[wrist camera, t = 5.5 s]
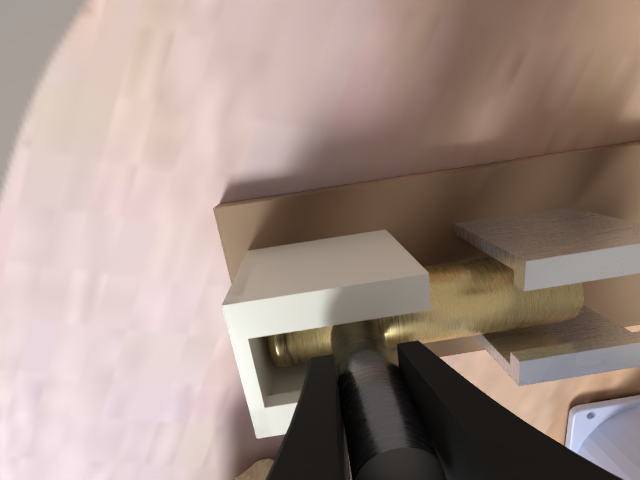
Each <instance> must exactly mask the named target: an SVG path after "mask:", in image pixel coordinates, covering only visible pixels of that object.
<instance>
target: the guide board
mask: <svg viewBox="0 0 640 480" xmlns="http://www.w3.org/2000/svg"><path fill="white" fill-rule="evenodd" d="M213 210H214V214H215V218H216V222H217V226H218V230H219V234H220V238H221V243H222V247H223V251H224V255H225V259H226V263H227V267H228V271H229V275H230V279H231V283H233V281H234V278H235V276H236V274H237V272H238V270H239V268H240V266H241V264H242V262H243V259H244V257H245V255H246V253H247V251H248V250H255V249H262V248H268V247H275V246H281V245H288V244H294V243H301V242H307V241H314V240H320V239H327V238H333V237H340V236H346V235H353V234H359V233H366V232H373V231H379V230H387V231H388V232H389V233H390V234H391V235H392V236H393V237H394V238H395V239H396V240H397V241H398V242H399V243H400V244H401V245H402V246H403V247H404V248H405V249H406V250H407V251H408V252H409V253H410V254H411V255H412V256H413V257H414V258H415V259H416V261H417V262H418V263H419V264H420V265H421V266H422V267H428V266H435V265H441V264H447V263H454V262H460V261H467V260H473V259H479V258H486V257H493V258H495V259H496V260H498V261H500V262H501V263H503V264H505V265H506V266H508V267H510V268H511V269H513V270H514V285H515V286H517V287H518V288H520V289H521V290H523V291H530V290H536V289H543V288H549V287H555V286H562V285H568V284H574V283H581V282H582V285H583V290H584V302H583V306H582V309H581V311H580V313H579V314H578V315H577V316H576V317H575V318H573V319H571V320H566V321H560V322H554V323H548V324H541V325H535V326H529V327H523V328H516V329H510V330H504V331H498V332H491V333H485V334H479V335H473V336H466V337H460V338H454V339H448V340H441V341H435V342H429V343H423V344H424V345H425V346H426V347H427V348H428V349H430V350H431V351H432V352H433V353H434V354H436V355H437V356H438V357H442V356H449V355H455V354H461V353H467V352H473V351H480V350H487V352H488V353H489V354H490V355H491V356H492V357H493V358H494V359H495V360H496V362H497V363H498V364H499V365H500V366H501V367H502V368H503V369H504V370H505V372H506V373H507V374H508V375H509V376H510V377H511V378H512V379H513V381H514V382H515V383H516V384H517V385H518V386H523V385H529V384H535V383H541V382H547V381H553V380H559V379H565V378H571V377H578V376H584V375H590V374H596V373H602V372H608V371H614V370H620V369H626V368H633V367H639V366H640V331H639V332H633V333H632V332H630V331H628V330H627V329H625V328H623V327H628V326H635V325H640V141H635V142H628V143H622V144H615V145H609V146H602V147H595V148H589V149H582V150H575V151H569V152H562V153H555V154H549V155H542V156H535V157H529V158H522V159H515V160H509V161H502V162H495V163H489V164H482V165H475V166H469V167H462V168H455V169H449V170H442V171H435V172H429V173H422V174H416V175H409V176H402V177H396V178H389V179H382V180H376V181H369V182H362V183H356V184H349V185H342V186H336V187H329V188H322V189H316V190H309V191H302V192H296V193H289V194H282V195H276V196H269V197H262V198H256V199H249V200H242V201H236V202H229V203H222V204H218V205H217V206H216V207H215V208H213Z"/></svg>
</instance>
